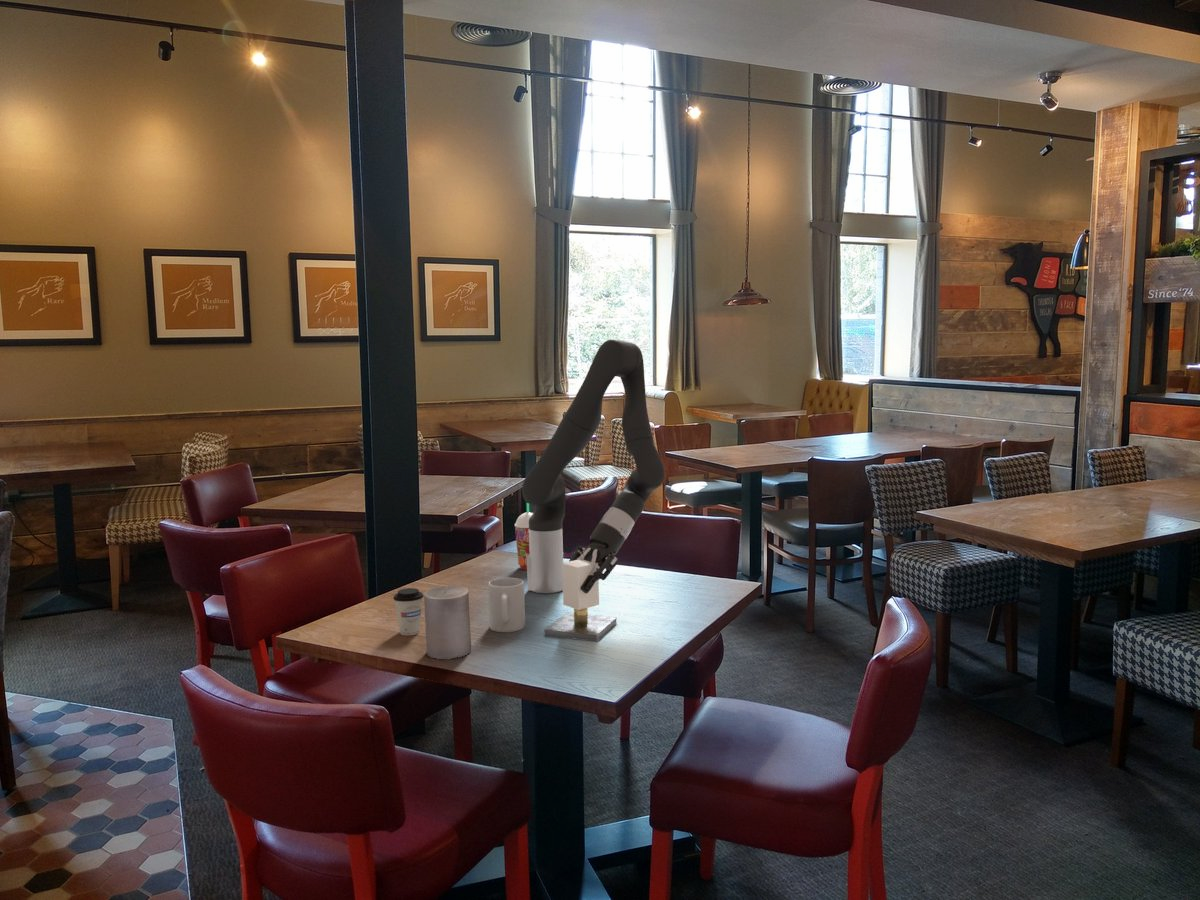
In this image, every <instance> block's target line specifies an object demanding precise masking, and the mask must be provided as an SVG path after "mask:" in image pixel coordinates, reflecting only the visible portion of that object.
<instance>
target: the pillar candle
mask: <svg viewBox="0 0 1200 900" xmlns="http://www.w3.org/2000/svg"><path fill="white" fill-rule="evenodd" d="M469 593H470V592H469V589H468V588H467V587H464V586H459V585H444V586H443V585H442V586H436V587H433V588H430V589H428V590H426V591H424V593H423V598H424V599H423V600H424V604H423V605H424V620H425V622H424V623H425V624H424V625H425V639H426V640H425V642H426V644H425V645H426V655H427V656H428V657H429V656H430V657H433V658H438V659H437V660H439V659H448V660H453V659H457V657H458V658H463V657H466V656H468V655H469V654H470V653H471V651H472V637H471V635H472V634H471V633H472V632H471V617H470V615H471V613H470V598H469ZM468 653H469V654H468ZM465 655H466V656H465ZM462 656H463V657H462ZM430 657H429V658H430ZM433 658H432V659H433ZM452 658H453V659H452Z"/></svg>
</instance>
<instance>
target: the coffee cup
mask: <svg viewBox="0 0 1200 900" xmlns="http://www.w3.org/2000/svg"><path fill="white" fill-rule="evenodd" d="M423 598H424V593H423V592H421V591H419V589H418V588H414V587H408V588H407V587H406V588H402V589H399V590H398V591H397V593H396V594H395V595H393V600H394V605H395V609H396V610H395V611H396V616H397V617H396V618H397V623H398V628H399V634H401V635H402V636H414V635H417V634H420V633H421V623H422V622H421V621H422V611H423V610H422V608H423Z"/></svg>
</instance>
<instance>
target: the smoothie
mask: <svg viewBox="0 0 1200 900" xmlns="http://www.w3.org/2000/svg"><path fill="white" fill-rule="evenodd" d="M533 513H534V512H530V504H529V503H527V502H526V512H524V513H521V514H520V515H519V516H518V517H517V519H516V521H515V523H514V531H515V542H516V551H517V552H516V553H517V562H518V563H517V564H518V565H519V567H520V569H521V570H523V571H527V556H529V555H530V549H529V519H530V517H531V516H532V515H533Z"/></svg>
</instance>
